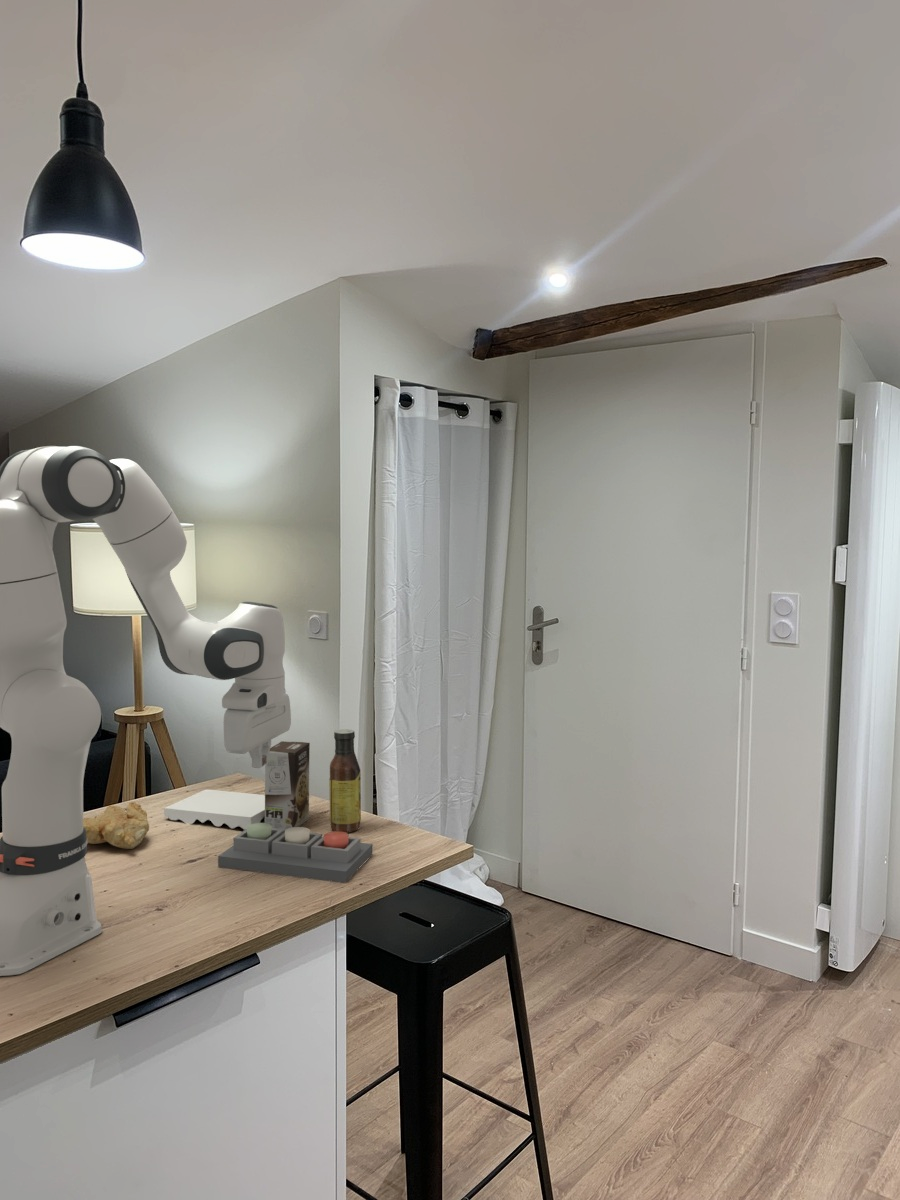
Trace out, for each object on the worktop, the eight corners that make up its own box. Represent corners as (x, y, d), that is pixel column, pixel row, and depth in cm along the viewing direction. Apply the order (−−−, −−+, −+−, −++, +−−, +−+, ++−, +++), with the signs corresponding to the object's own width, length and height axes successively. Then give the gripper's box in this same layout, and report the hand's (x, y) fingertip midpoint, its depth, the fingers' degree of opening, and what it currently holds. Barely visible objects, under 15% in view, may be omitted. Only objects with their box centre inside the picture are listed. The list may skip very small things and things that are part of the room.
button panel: (345, 882, 157) (345, 858, 157) (218, 866, 163) (218, 843, 163) (372, 854, 171) (372, 832, 170) (253, 840, 177) (253, 819, 176)
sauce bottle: (366, 830, 184) (367, 732, 182) (338, 836, 180) (339, 736, 179) (350, 821, 189) (352, 726, 187) (323, 826, 186) (324, 729, 184)
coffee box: (294, 832, 182) (294, 752, 180) (263, 829, 183) (263, 750, 181) (310, 818, 190) (311, 741, 189) (280, 815, 192) (281, 739, 190)
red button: (343, 852, 162) (343, 840, 162) (319, 850, 163) (320, 838, 163) (351, 844, 166) (352, 832, 166) (329, 842, 167) (329, 830, 167)
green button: (264, 843, 166) (265, 831, 166) (242, 841, 167) (242, 829, 167) (275, 835, 170) (275, 824, 170) (253, 833, 171) (253, 821, 171)
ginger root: (112, 858, 163) (105, 813, 163) (55, 861, 170) (49, 818, 171) (179, 836, 176) (172, 794, 177) (123, 840, 184) (117, 800, 185)
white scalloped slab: (164, 824, 187) (250, 834, 181) (164, 808, 187) (250, 817, 181) (206, 804, 202) (287, 812, 195) (206, 789, 201) (287, 797, 195)
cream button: (303, 848, 164) (303, 836, 164) (280, 845, 165) (280, 833, 165) (313, 840, 168) (313, 828, 168) (290, 837, 169) (291, 826, 169)
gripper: (268, 680, 177) (268, 751, 178) (216, 700, 157) (217, 779, 158) (299, 682, 175) (299, 753, 177) (250, 702, 156) (250, 782, 157)
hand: (259, 766), depth 167 cm, fingers closed
